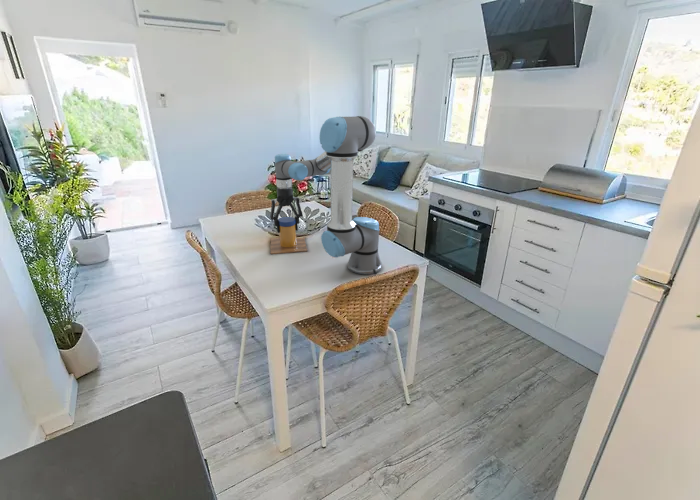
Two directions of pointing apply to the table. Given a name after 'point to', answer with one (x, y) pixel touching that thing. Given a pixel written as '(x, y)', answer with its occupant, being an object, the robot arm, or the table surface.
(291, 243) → the jar
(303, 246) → the mat
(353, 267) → the robot arm
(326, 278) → the table surface
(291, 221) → the lid
